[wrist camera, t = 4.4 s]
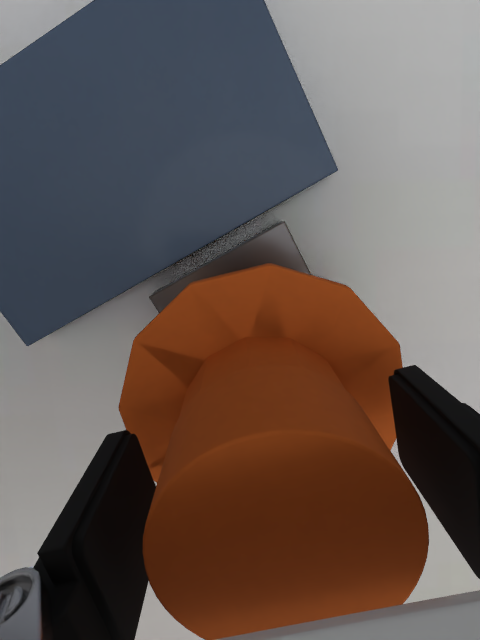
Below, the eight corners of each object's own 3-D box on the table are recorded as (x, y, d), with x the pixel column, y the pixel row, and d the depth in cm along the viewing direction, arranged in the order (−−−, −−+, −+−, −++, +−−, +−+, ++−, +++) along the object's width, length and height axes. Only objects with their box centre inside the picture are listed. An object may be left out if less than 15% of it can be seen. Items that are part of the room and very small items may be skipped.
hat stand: (224, 403, 25) (211, 621, 12) (154, 292, 23) (37, 401, 9) (342, 344, 24) (480, 509, 10) (281, 220, 22) (355, 227, 8)
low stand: (48, 333, 23) (26, 347, 21) (-82, 157, 21) (-124, 150, 18) (326, 175, 21) (338, 169, 19) (225, -51, 18) (224, -92, 16)
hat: (211, 553, 15) (196, 772, 9) (64, 352, 12) (-89, 474, 6) (443, 449, 13) (600, 625, 8) (331, 204, 11) (438, 190, 5)
